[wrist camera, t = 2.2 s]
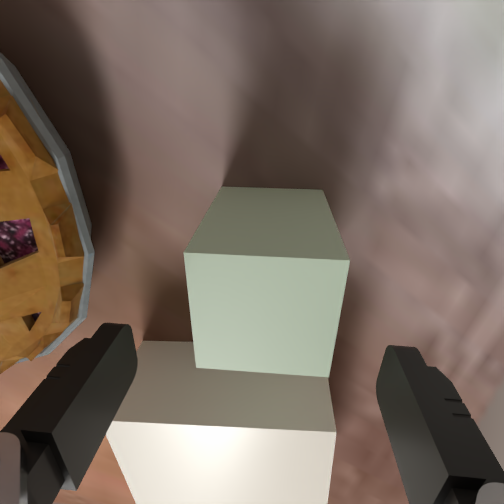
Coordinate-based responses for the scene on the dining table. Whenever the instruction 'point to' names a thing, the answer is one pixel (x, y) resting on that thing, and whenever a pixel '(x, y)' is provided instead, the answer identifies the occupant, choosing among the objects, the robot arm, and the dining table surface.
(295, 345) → the sage block
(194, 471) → the base box
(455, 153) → the dining table surface
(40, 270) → the pie
